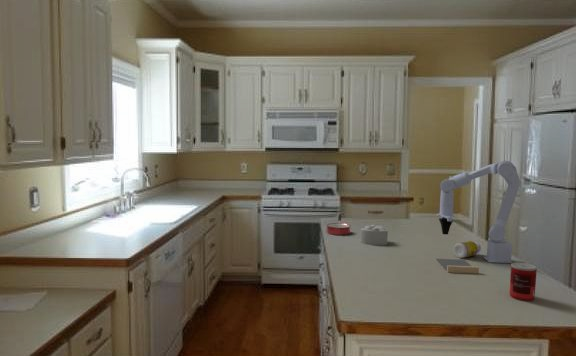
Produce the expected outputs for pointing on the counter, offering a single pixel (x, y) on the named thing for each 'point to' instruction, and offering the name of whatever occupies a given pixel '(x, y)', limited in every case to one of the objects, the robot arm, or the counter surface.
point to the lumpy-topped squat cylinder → (374, 235)
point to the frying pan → (338, 228)
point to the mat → (457, 266)
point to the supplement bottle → (466, 249)
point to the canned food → (523, 281)
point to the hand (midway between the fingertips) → (445, 234)
